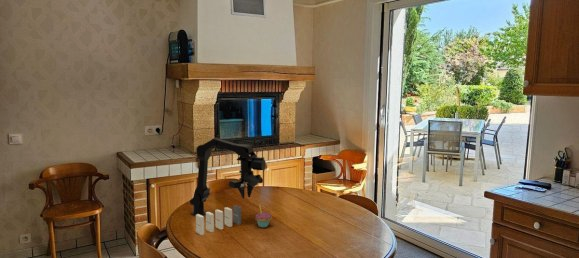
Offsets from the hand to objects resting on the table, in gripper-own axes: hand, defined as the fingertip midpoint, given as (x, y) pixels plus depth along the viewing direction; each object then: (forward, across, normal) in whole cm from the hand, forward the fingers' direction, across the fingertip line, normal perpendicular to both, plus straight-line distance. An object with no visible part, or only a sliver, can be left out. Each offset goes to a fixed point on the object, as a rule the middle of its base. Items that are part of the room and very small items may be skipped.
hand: (246, 197), depth 212 cm
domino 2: (+13, -22, 0) cm, 26 cm away
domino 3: (+13, -17, 0) cm, 21 cm away
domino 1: (+13, -28, 0) cm, 31 cm away
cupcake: (+13, +2, -12) cm, 18 cm away
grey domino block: (+13, -6, 0) cm, 14 cm away
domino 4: (+13, -11, 0) cm, 17 cm away
